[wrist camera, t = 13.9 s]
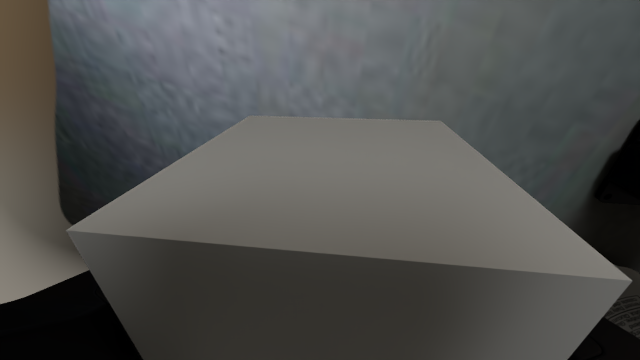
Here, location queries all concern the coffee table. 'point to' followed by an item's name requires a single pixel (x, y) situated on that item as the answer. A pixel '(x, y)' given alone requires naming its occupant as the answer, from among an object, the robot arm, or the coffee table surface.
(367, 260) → the grey piece
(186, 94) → the coffee table surface
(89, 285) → the robot arm
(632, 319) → the energy drink can
